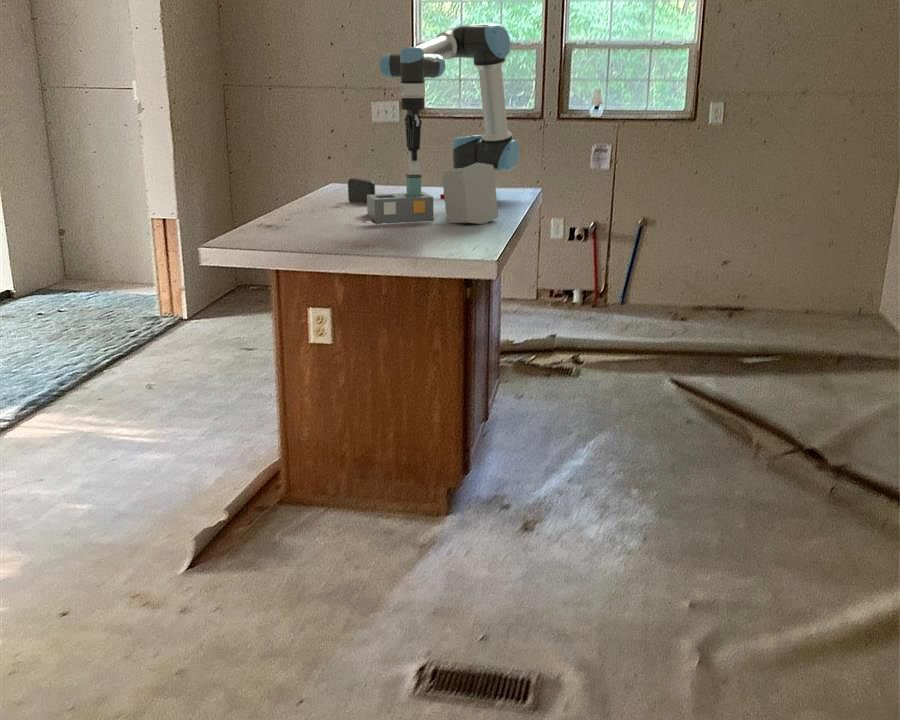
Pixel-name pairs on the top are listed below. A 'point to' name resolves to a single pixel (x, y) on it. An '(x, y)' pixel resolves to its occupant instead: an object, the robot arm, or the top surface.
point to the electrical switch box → (470, 194)
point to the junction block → (399, 208)
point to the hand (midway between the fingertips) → (413, 170)
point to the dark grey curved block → (360, 189)
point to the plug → (413, 184)
